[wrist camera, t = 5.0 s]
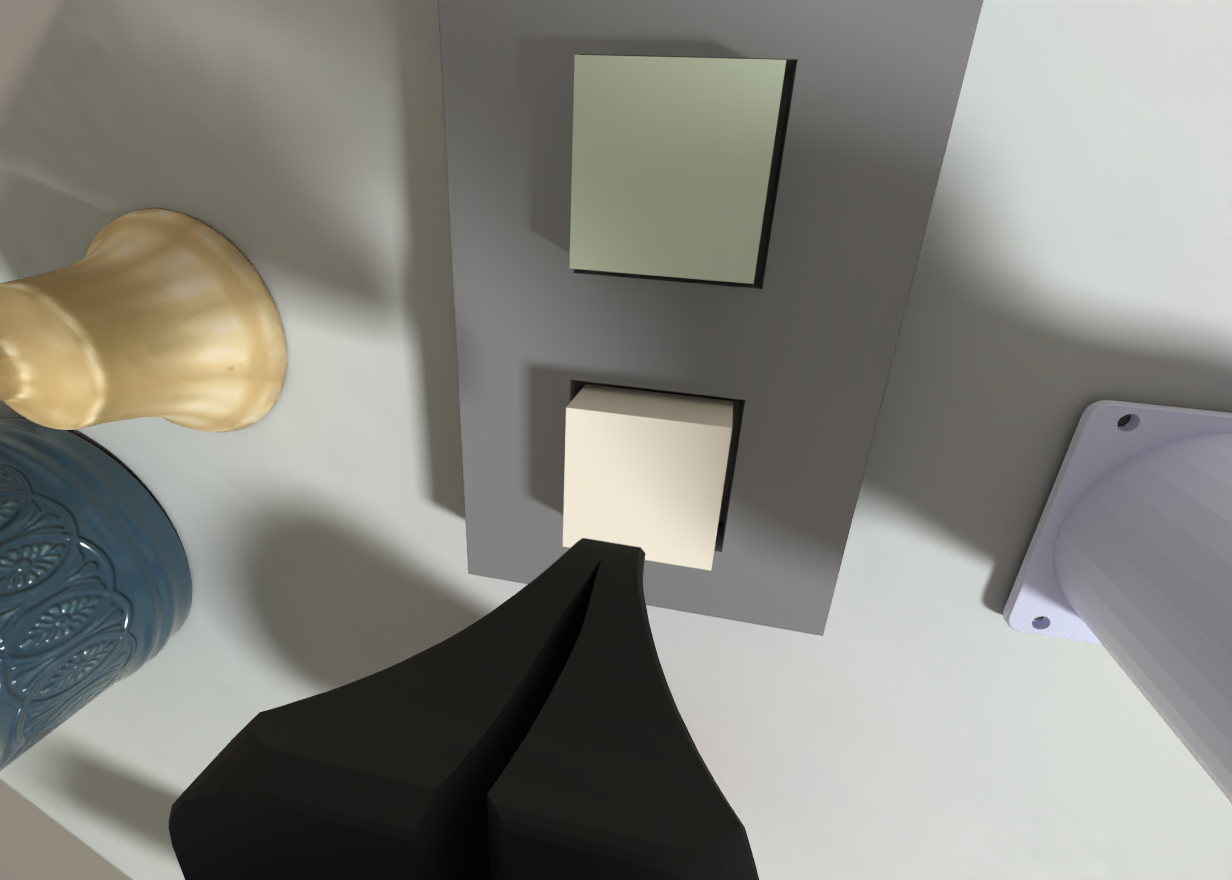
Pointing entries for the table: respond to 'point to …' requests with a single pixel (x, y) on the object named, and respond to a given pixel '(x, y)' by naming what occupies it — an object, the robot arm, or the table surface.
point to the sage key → (672, 164)
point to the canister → (76, 579)
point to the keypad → (693, 308)
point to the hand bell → (144, 332)
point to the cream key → (646, 471)
